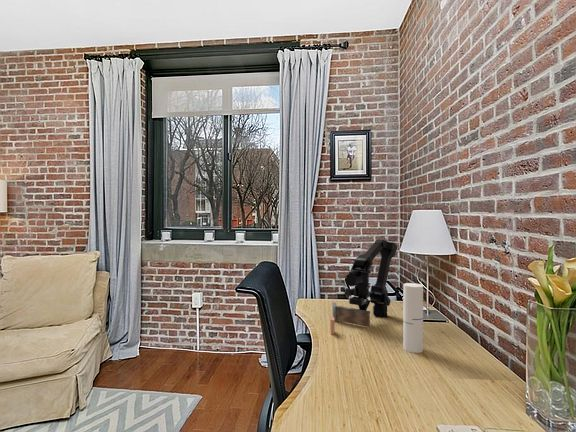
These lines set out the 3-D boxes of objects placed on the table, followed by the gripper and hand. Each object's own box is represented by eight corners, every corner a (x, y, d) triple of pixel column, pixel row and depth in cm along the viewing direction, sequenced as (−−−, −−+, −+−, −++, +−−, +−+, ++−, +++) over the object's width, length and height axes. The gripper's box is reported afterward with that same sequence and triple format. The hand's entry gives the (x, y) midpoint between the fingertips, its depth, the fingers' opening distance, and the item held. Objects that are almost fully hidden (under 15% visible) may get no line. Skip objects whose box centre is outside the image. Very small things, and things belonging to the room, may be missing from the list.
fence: (335, 315, 169) (335, 301, 169) (340, 334, 142) (340, 317, 142) (328, 315, 170) (328, 300, 170) (330, 334, 143) (330, 317, 143)
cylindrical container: (424, 353, 123) (424, 287, 123) (404, 352, 125) (404, 286, 124) (420, 346, 130) (421, 283, 130) (402, 344, 132) (402, 282, 131)
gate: (336, 320, 159) (336, 306, 159) (338, 319, 161) (338, 305, 161) (368, 327, 150) (368, 312, 150) (369, 325, 152) (369, 311, 152)
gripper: (354, 278, 170) (354, 308, 170) (339, 284, 155) (339, 317, 155) (375, 280, 164) (375, 312, 164) (361, 287, 149) (361, 321, 149)
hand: (362, 315), depth 158 cm, fingers closed
